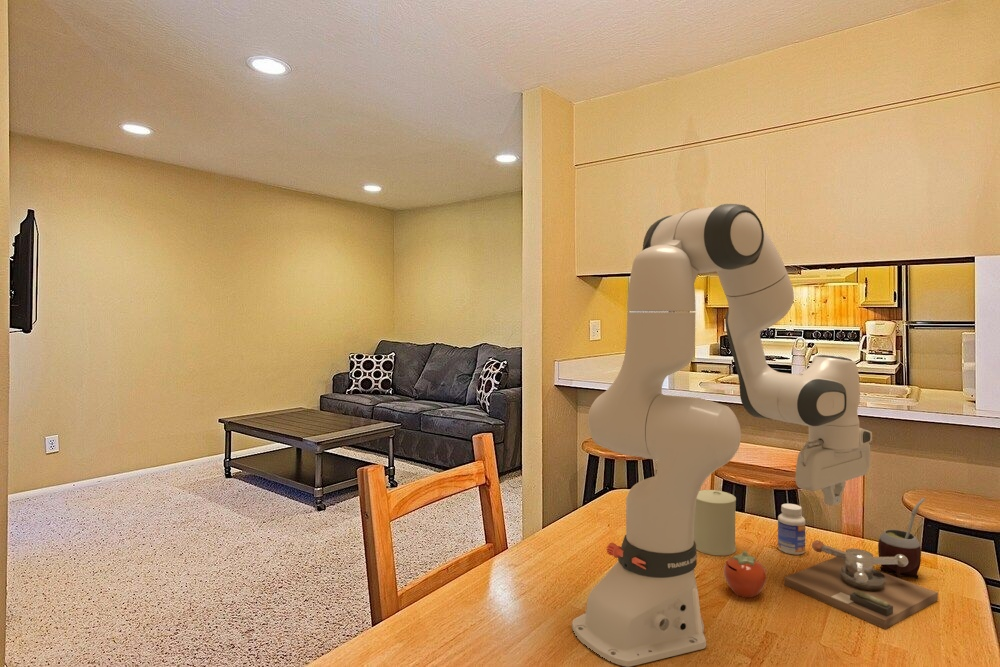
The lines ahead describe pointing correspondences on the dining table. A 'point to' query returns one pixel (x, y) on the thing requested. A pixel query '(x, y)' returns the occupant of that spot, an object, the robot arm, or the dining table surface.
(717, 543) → the can
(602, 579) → the robot arm
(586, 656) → the dining table surface
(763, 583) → the tomato
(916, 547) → the mate gourd
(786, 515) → the pill bottle
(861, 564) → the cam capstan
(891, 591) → the stand board
